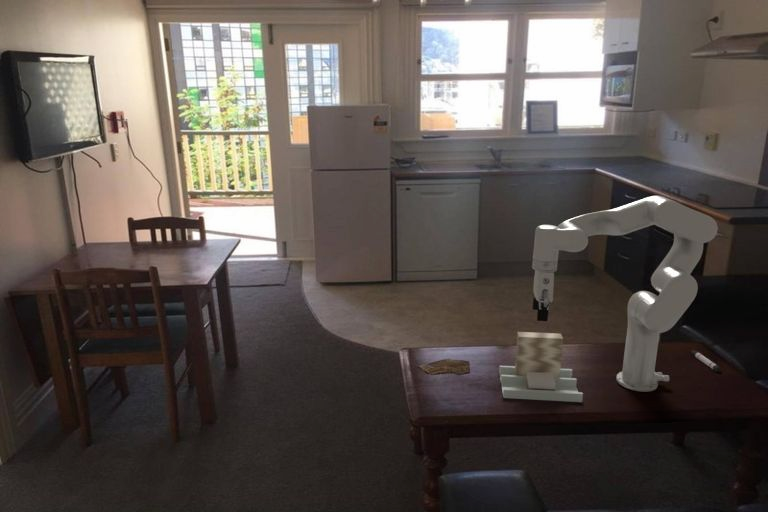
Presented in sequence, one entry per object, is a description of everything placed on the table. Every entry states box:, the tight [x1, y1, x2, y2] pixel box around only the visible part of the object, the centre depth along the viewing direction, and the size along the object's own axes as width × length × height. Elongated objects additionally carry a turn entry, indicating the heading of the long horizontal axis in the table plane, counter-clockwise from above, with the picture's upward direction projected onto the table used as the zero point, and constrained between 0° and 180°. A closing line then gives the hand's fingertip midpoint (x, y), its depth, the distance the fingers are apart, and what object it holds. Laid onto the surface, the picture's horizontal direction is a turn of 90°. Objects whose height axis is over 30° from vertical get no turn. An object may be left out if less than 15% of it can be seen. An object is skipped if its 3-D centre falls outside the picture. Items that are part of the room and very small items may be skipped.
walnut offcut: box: [526, 381, 555, 391], centre depth 177 cm, size 8×6×2 cm
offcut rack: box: [498, 365, 584, 403], centre depth 180 cm, size 24×18×4 cm
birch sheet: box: [514, 331, 564, 378], centre depth 183 cm, size 14×4×16 cm, turn 83°
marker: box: [690, 349, 722, 373], centre depth 198 cm, size 15×2×2 cm, turn 5°
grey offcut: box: [527, 372, 556, 389], centre depth 176 cm, size 8×6×2 cm
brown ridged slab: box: [418, 358, 471, 375], centre depth 196 cm, size 26×11×1 cm, turn 91°
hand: (539, 315), depth 178 cm, fingers open, 9 cm apart
